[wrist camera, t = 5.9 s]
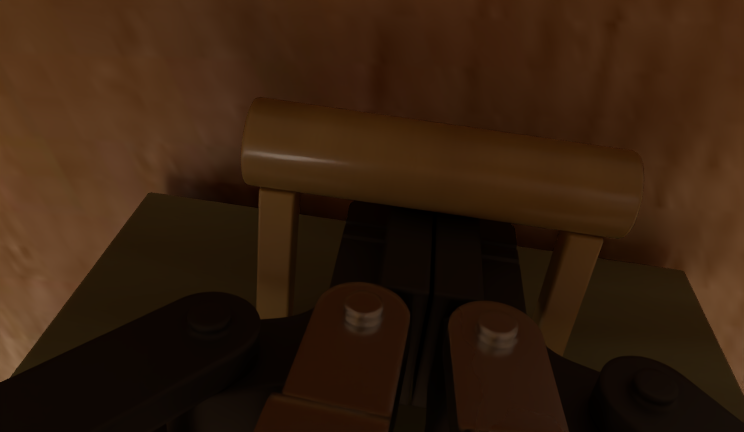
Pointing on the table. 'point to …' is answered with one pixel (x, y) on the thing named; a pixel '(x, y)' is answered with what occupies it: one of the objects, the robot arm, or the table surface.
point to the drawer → (416, 191)
